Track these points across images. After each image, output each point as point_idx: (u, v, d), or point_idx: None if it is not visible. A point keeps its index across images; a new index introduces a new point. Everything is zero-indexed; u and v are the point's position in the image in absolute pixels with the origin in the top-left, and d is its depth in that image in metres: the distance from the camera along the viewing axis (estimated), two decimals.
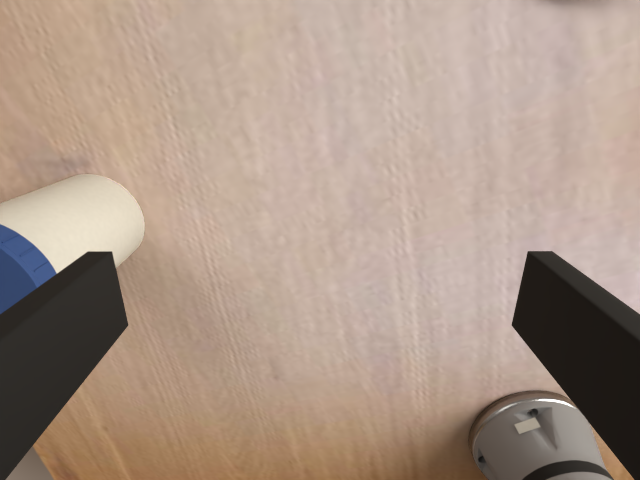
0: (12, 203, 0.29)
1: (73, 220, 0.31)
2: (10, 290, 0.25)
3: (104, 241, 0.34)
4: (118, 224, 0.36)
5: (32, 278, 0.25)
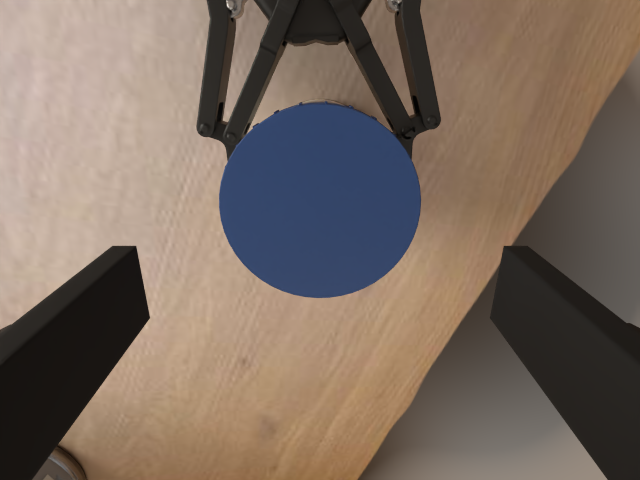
0: None
1: None
2: (255, 190, 0.20)
3: None
4: None
5: (220, 187, 0.20)
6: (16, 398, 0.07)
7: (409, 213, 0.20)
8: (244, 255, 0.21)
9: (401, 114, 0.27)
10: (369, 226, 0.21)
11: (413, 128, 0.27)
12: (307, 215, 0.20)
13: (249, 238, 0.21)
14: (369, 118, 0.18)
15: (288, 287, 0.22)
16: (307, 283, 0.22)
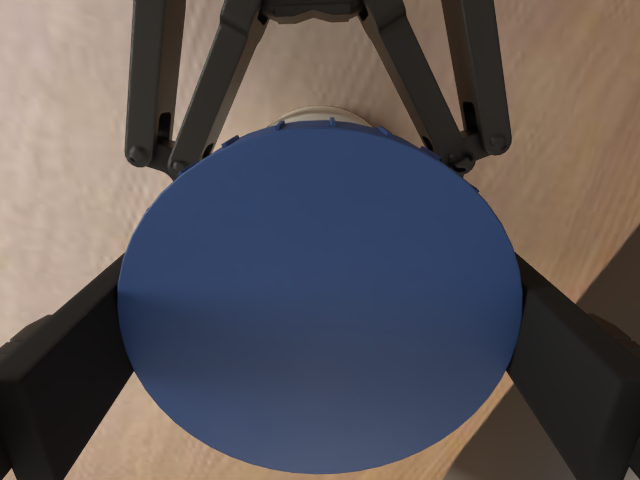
0: None
1: None
2: (190, 298, 0.10)
3: None
4: None
5: None
6: (62, 382, 0.08)
7: (497, 339, 0.10)
8: (176, 409, 0.11)
9: (449, 132, 0.17)
10: (416, 362, 0.11)
11: (468, 154, 0.17)
12: (295, 343, 0.10)
13: (183, 381, 0.11)
14: (428, 159, 0.08)
15: (261, 459, 0.12)
16: (296, 453, 0.12)
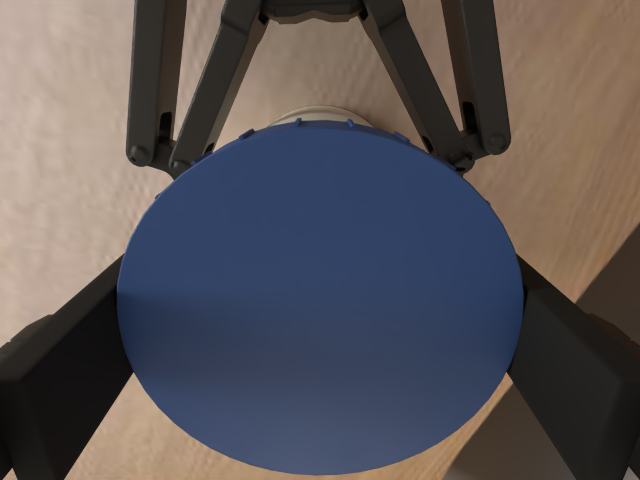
0: None
1: None
2: (343, 431, 0.11)
3: None
4: None
5: (367, 469, 0.12)
6: (63, 382, 0.08)
7: (221, 179, 0.09)
8: (470, 403, 0.11)
9: (449, 131, 0.17)
10: (297, 239, 0.09)
11: (467, 154, 0.17)
12: (341, 349, 0.10)
13: (433, 408, 0.11)
14: (124, 343, 0.10)
15: (509, 312, 0.10)
16: (485, 284, 0.10)
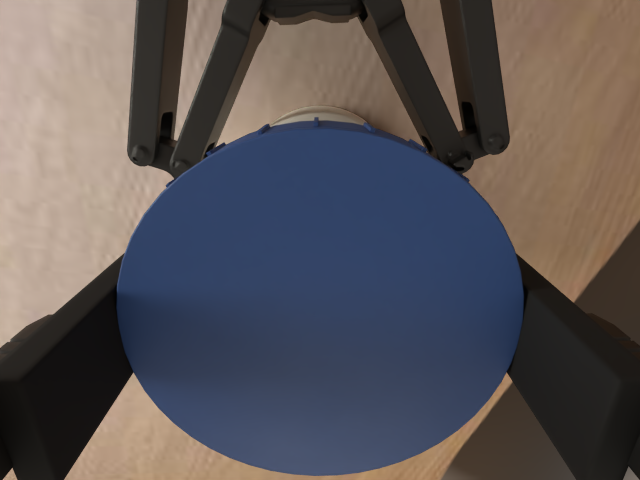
0: None
1: None
2: (428, 256, 0.09)
3: None
4: None
5: (480, 195, 0.09)
6: (62, 381, 0.08)
7: (236, 446, 0.12)
8: (313, 147, 0.08)
9: (448, 131, 0.17)
10: (245, 390, 0.11)
11: (466, 153, 0.17)
12: (323, 313, 0.10)
13: (344, 183, 0.09)
14: (411, 456, 0.12)
15: (185, 193, 0.09)
16: (177, 237, 0.09)
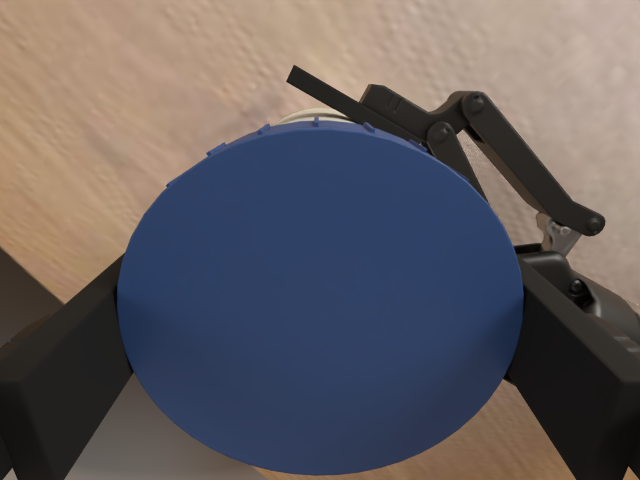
0: None
1: None
2: (428, 256, 0.09)
3: None
4: None
5: (480, 195, 0.09)
6: (63, 382, 0.08)
7: (236, 446, 0.12)
8: (313, 147, 0.08)
9: None
10: (245, 390, 0.11)
11: None
12: (323, 312, 0.10)
13: (344, 183, 0.09)
14: (411, 455, 0.12)
15: (185, 193, 0.09)
16: (177, 237, 0.09)
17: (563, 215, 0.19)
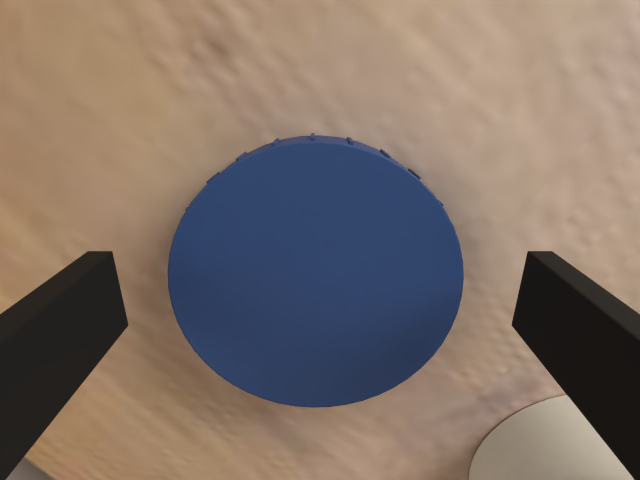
0: None
1: None
2: (392, 232, 0.13)
3: None
4: None
5: (427, 188, 0.13)
6: None
7: (252, 382, 0.15)
8: (310, 154, 0.12)
9: None
10: (260, 336, 0.14)
11: None
12: (318, 274, 0.14)
13: (332, 179, 0.12)
14: (386, 390, 0.15)
15: (221, 187, 0.12)
16: (214, 218, 0.13)
17: None
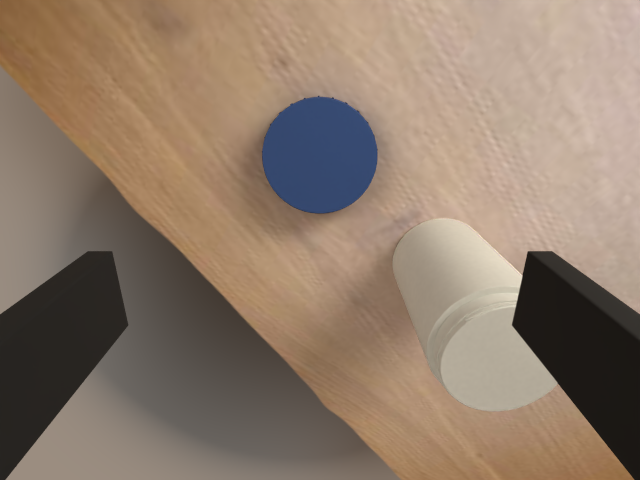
0: (455, 267, 0.30)
1: (501, 260, 0.31)
2: (348, 133, 0.35)
3: None
4: None
5: None
6: None
7: (293, 200, 0.37)
8: (318, 102, 0.34)
9: None
10: (297, 178, 0.36)
11: None
12: (320, 150, 0.35)
13: (326, 111, 0.34)
14: (348, 204, 0.37)
15: (285, 114, 0.34)
16: (281, 127, 0.34)
17: None
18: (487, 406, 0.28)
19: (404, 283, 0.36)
